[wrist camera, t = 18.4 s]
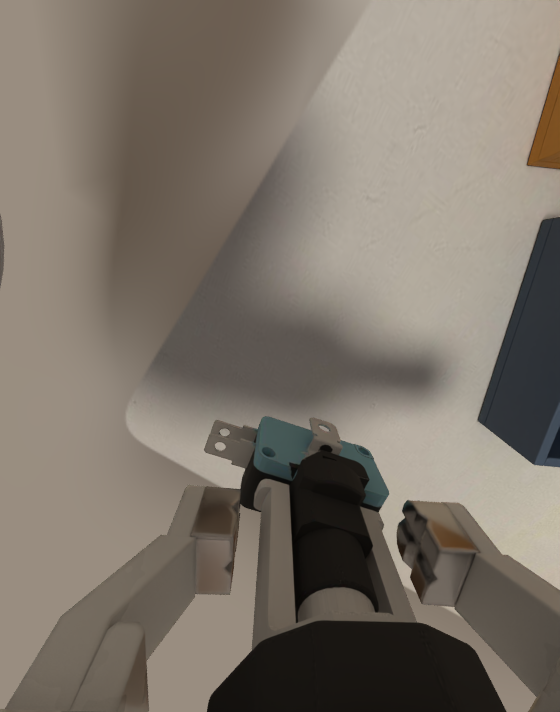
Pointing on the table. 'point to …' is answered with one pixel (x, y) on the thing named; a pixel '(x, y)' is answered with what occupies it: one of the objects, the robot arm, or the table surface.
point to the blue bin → (531, 361)
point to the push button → (333, 589)
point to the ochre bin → (549, 129)
